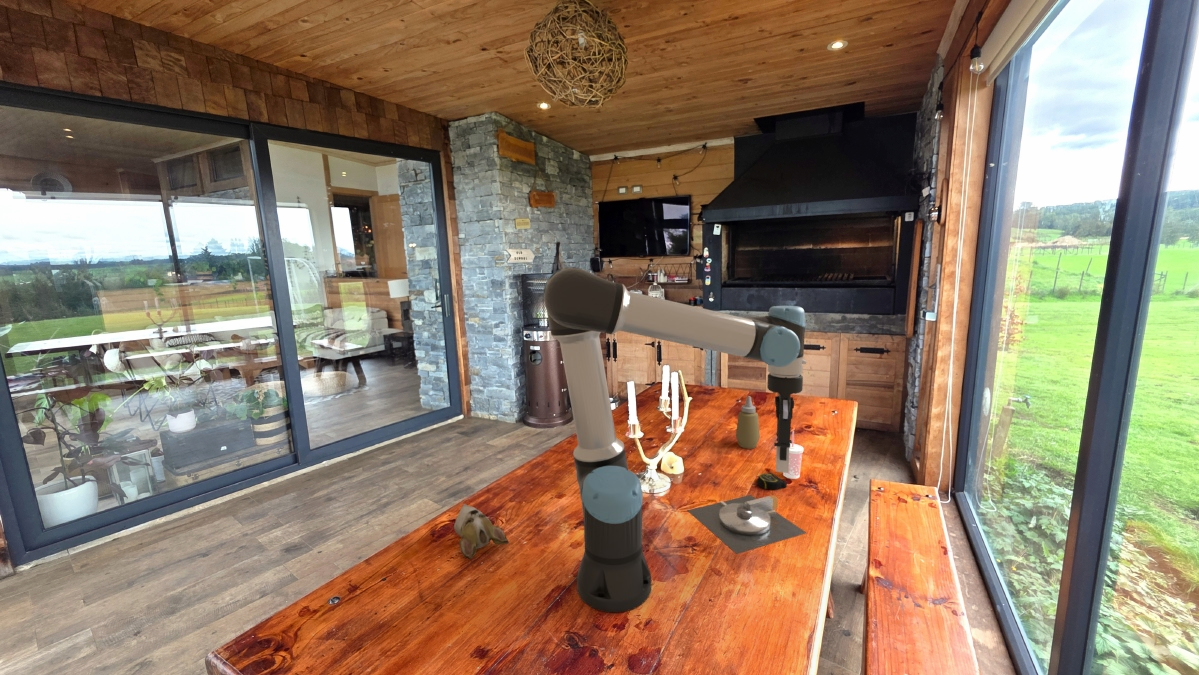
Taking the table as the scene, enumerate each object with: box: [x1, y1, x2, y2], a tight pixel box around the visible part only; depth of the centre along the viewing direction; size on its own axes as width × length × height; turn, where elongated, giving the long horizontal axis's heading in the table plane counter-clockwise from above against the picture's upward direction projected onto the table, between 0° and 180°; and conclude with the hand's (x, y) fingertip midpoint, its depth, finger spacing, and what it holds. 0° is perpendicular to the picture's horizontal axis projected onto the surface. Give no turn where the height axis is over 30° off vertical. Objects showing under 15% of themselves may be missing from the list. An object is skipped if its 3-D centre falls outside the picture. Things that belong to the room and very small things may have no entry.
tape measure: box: [756, 472, 788, 491], centre depth 135 cm, size 7×7×4 cm
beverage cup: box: [782, 430, 804, 480], centre depth 143 cm, size 6×6×14 cm
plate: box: [687, 494, 807, 555], centre depth 117 cm, size 20×20×2 cm
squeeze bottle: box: [735, 395, 761, 450], centre depth 165 cm, size 8×8×18 cm
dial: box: [719, 494, 779, 535], centre depth 117 cm, size 16×12×4 cm
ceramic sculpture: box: [453, 503, 510, 560], centre depth 112 cm, size 11×9×15 cm
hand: (782, 470), depth 112 cm, fingers closed
